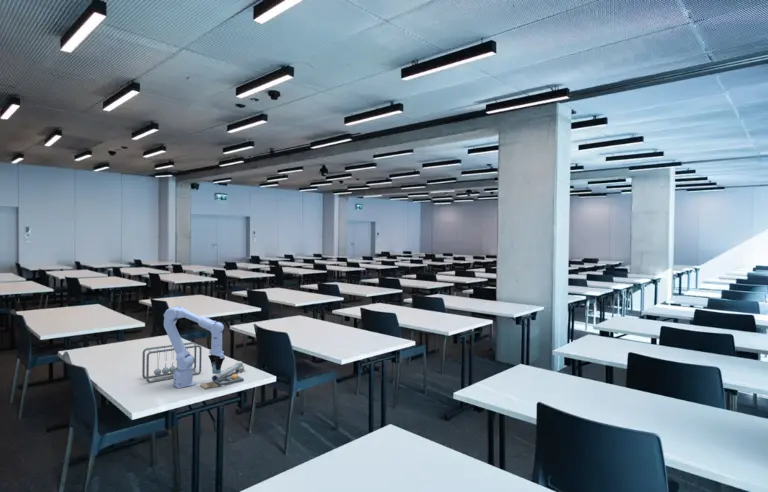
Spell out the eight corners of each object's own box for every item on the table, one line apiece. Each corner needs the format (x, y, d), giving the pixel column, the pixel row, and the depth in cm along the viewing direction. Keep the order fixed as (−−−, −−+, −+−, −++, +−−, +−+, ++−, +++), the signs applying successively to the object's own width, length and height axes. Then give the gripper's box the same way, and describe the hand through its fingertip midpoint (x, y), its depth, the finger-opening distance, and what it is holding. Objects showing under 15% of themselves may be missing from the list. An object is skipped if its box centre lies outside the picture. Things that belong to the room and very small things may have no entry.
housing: (220, 386, 247) (220, 383, 247) (214, 382, 252) (214, 380, 252) (243, 381, 257) (243, 378, 257) (237, 377, 262) (237, 375, 262)
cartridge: (214, 374, 246) (214, 363, 246) (210, 372, 249) (210, 361, 249) (222, 372, 249) (222, 362, 249) (218, 370, 253) (218, 360, 253)
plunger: (233, 381, 255) (233, 375, 255) (231, 380, 257) (231, 374, 257) (238, 380, 257) (238, 374, 257) (236, 379, 259) (236, 373, 259)
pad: (205, 389, 242) (205, 387, 242) (200, 386, 246) (200, 384, 246) (218, 386, 246) (218, 384, 246) (212, 383, 251) (212, 381, 251)
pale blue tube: (210, 374, 255) (238, 358, 279) (211, 385, 256) (239, 368, 280) (217, 375, 254) (245, 359, 277) (218, 387, 255) (246, 369, 278)
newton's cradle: (146, 383, 249) (146, 352, 249) (142, 379, 257) (142, 348, 257) (201, 374, 269) (201, 344, 268) (195, 370, 277) (196, 341, 276)
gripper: (229, 345, 247) (229, 370, 247) (217, 341, 257) (217, 364, 257) (217, 347, 242) (216, 372, 242) (205, 342, 252) (205, 366, 252)
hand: (216, 368), depth 249 cm, fingers closed on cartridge, 5 cm apart
